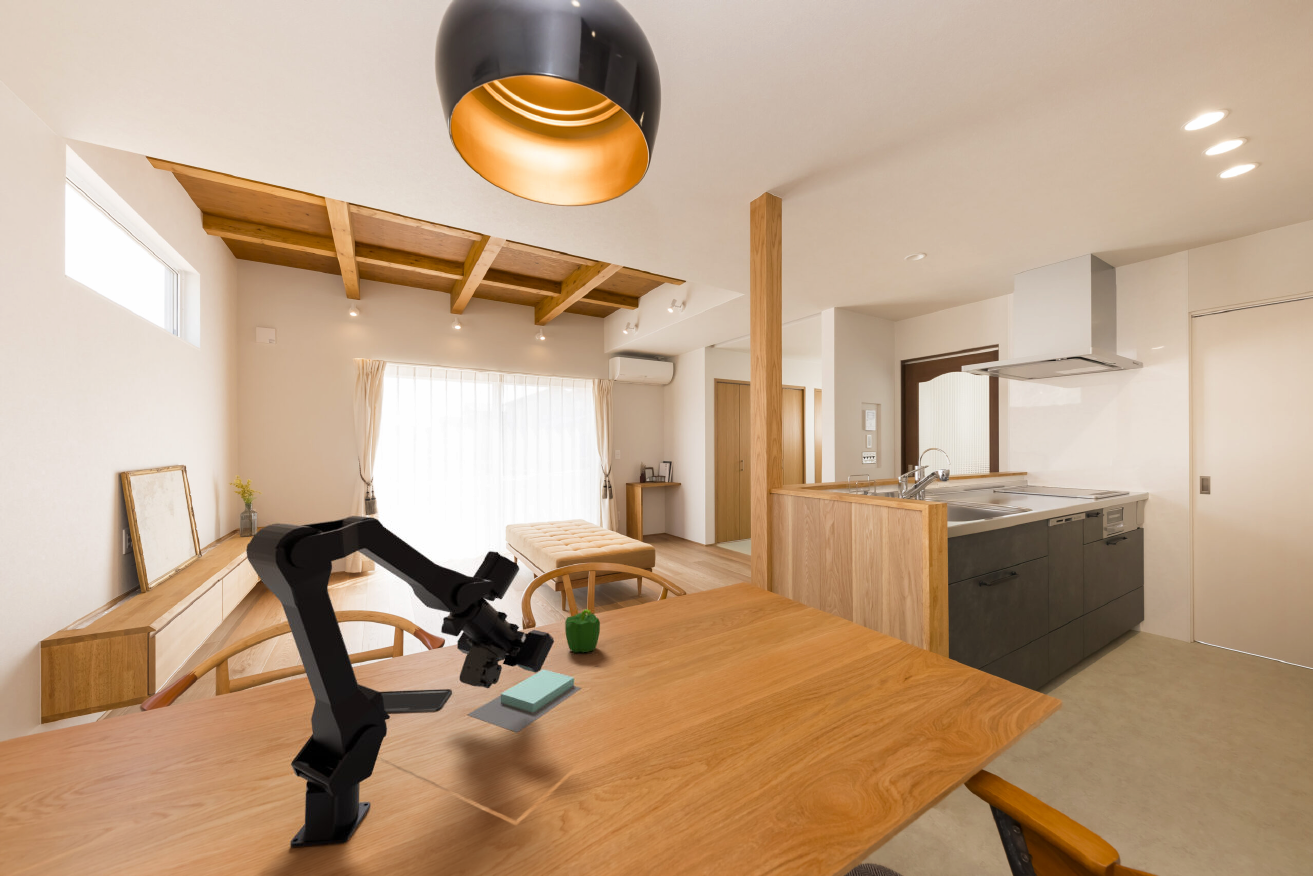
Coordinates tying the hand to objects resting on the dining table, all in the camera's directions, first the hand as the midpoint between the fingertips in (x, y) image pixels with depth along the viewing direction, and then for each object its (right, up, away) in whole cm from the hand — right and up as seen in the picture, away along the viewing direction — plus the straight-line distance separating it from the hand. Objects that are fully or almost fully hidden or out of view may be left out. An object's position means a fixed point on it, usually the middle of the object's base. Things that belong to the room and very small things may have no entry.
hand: (526, 664), depth 93 cm
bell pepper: (+7, -9, +26) cm, 28 cm away
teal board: (-1, -6, -3) cm, 7 cm away
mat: (0, -7, 0) cm, 7 cm away
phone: (-23, -8, -1) cm, 24 cm away
